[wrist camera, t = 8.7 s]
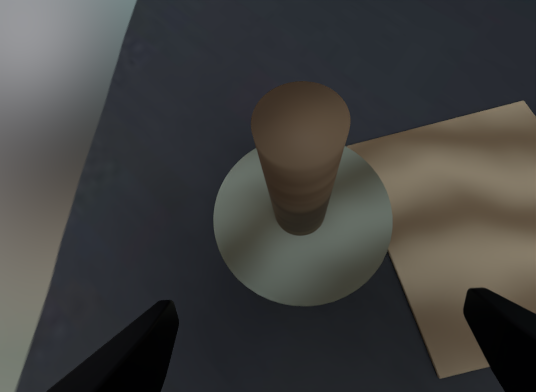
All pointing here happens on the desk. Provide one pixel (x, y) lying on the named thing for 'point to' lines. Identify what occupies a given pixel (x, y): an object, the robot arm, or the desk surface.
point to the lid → (302, 202)
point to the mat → (460, 221)
